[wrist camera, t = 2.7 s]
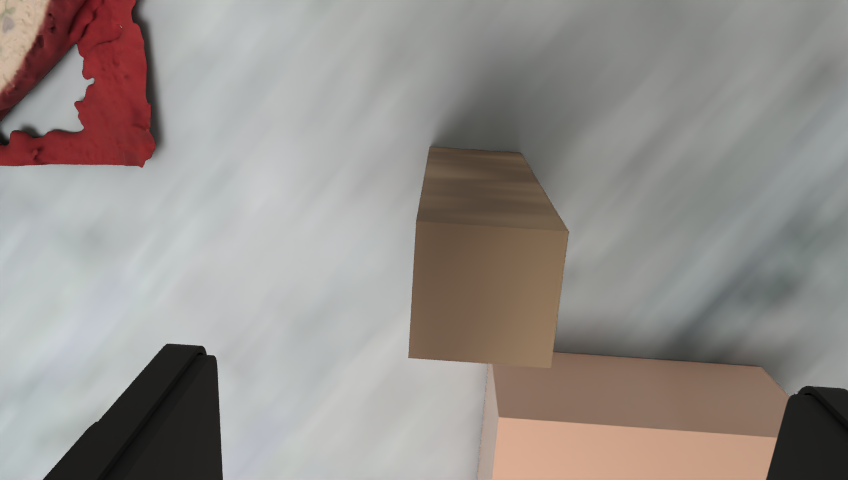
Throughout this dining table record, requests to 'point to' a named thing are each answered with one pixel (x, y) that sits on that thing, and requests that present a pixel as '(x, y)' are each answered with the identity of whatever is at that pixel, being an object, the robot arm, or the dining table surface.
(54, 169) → the dining table surface
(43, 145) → the plate with food
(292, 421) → the dining table surface
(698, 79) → the dining table surface
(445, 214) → the walnut peg
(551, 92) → the dining table surface
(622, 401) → the pink planter box
